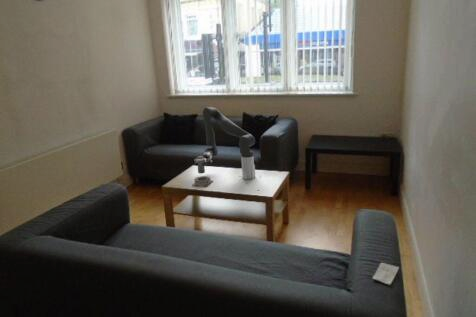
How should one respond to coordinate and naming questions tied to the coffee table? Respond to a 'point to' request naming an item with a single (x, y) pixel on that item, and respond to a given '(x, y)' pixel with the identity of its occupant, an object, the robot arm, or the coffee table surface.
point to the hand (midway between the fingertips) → (199, 164)
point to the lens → (200, 164)
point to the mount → (202, 181)
